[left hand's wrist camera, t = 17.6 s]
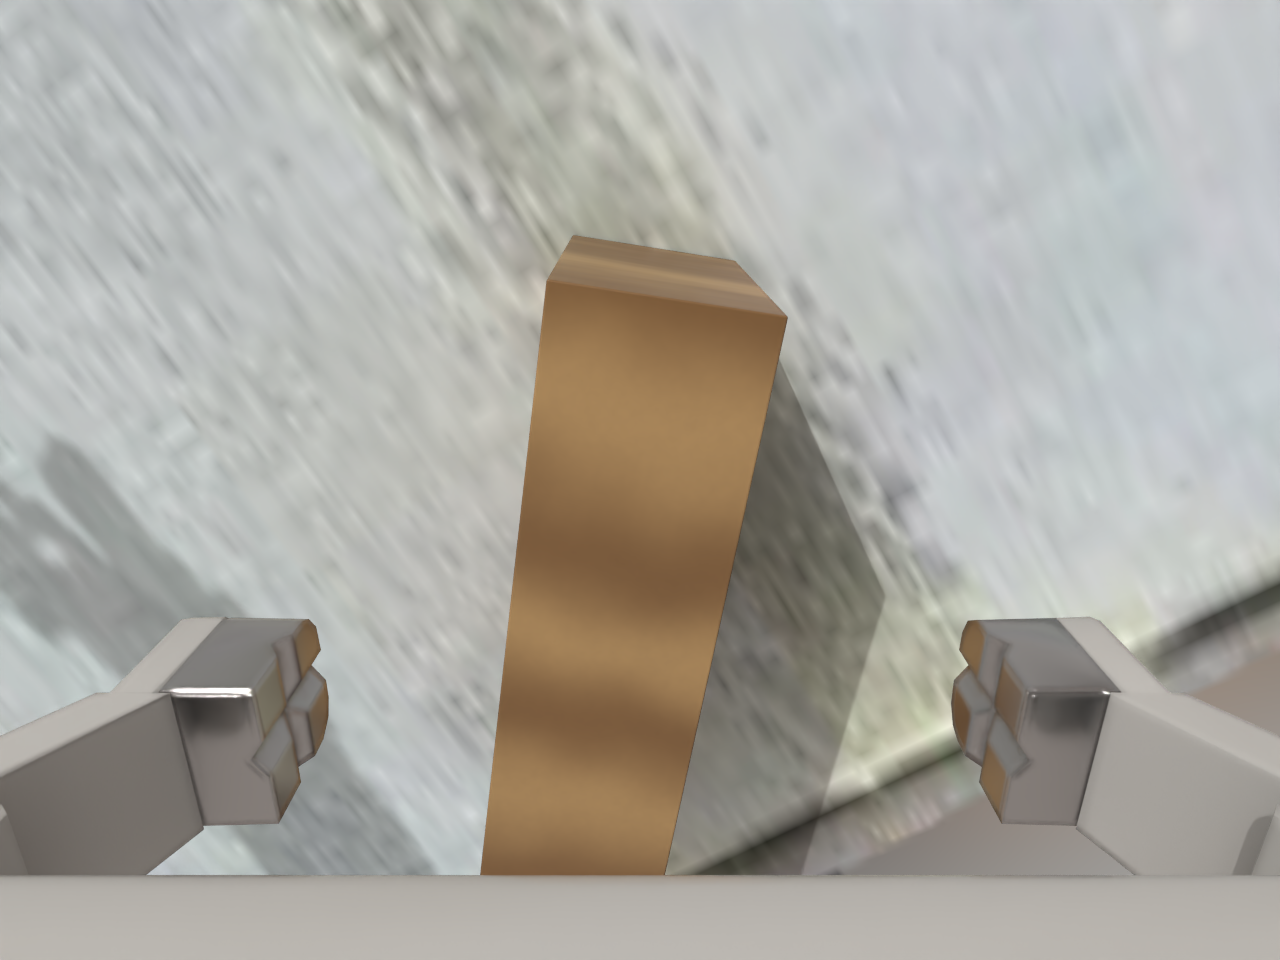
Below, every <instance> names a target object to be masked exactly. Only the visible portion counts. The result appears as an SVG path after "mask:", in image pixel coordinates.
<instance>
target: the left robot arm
mask: <svg viewBox="0 0 1280 960" xmlns="http://www.w3.org/2000/svg"><path fill="white" fill-rule="evenodd" d="M320 650H321V648H320V644H319V639H318V634H317V629H316V626H315V625H314V624H313V623H312V622H311V621H310V620H309V619H275V618H227V617H200V618H188V619H182V620H181V621H180V622H179V623H178V624H177V625H176V626H175V627H174V628H173V629H172V630H171V631H170V632H169V633H168V634H167V635H166V636H165V637H164V638H163V639H162V640H161V641H160V642H159V643H158V644H157V645H156V646H155V647H154V648H153V649H152V650H151V651H150V652H149V653H148V654H147V655H146V656H145V657H144V658H143V659H142V660H141V661H140V662H139V663H138V664H137V666H136V667H135V668H134V669H133V670H132V671H131V672H130V673H129V674H128V675H127V676H126V677H125V678H124V679H123V680H122V681H121V682H120V683H119V684H118V685H117V686H116V687H115V688H114V689H113V690H112V691H111V692H110V693H95V694H93V695H90V696H88V697H86V698H84V699H81V700H79V701H77V702H75V703H73V704H70V705H68V706H66V707H64V708H61V709H59V710H57V711H55V712H52V713H50V714H48V715H46V716H44V717H41V718H39V719H37V720H35V721H32V722H30V723H28V724H26V725H23V726H21V727H19V728H17V729H15V730H12V731H10V732H8V733H6V734H3V735H1V736H0V960H1280V736H1278V735H1276V734H1274V733H1272V732H1270V731H1267V730H1265V729H1263V728H1261V727H1259V726H1256V725H1254V724H1252V723H1250V722H1247V721H1245V720H1243V719H1241V718H1239V717H1236V716H1234V715H1232V714H1229V713H1227V712H1225V711H1223V710H1221V709H1219V708H1216V707H1214V706H1212V705H1210V704H1207V703H1205V702H1203V701H1201V700H1198V699H1196V698H1194V697H1192V696H1190V695H1187V694H1185V693H1170V692H1169V691H1168V690H1167V689H1166V688H1165V687H1164V686H1163V685H1162V684H1161V683H1160V682H1159V681H1158V680H1157V679H1156V678H1155V677H1154V676H1153V675H1152V674H1151V673H1150V672H1149V670H1148V669H1147V668H1146V667H1145V666H1144V665H1143V664H1142V663H1141V662H1140V661H1139V660H1138V659H1137V658H1136V657H1135V656H1134V655H1133V654H1132V653H1131V652H1130V651H1129V650H1128V649H1127V648H1126V647H1125V646H1124V645H1123V644H1122V643H1121V642H1120V641H1119V640H1118V639H1117V638H1116V637H1115V636H1114V635H1113V634H1112V633H1111V632H1110V631H1109V629H1108V628H1107V627H1106V626H1105V625H1104V624H1103V623H1102V622H1101V621H1099V620H1097V619H1094V618H1091V617H1070V618H1041V619H1000V620H971V621H968V622H967V624H966V626H965V628H964V630H963V632H962V637H961V643H960V648H959V650H960V652H961V653H962V655H963V657H964V658H965V660H966V662H967V663H968V666H967V667H966V668H965V669H964V671H963V672H962V673H961V674H960V675H959V676H958V677H957V678H956V679H955V680H954V685H953V692H952V700H951V708H952V720H953V727H954V730H955V734H956V737H957V740H958V743H959V745H960V747H961V749H962V751H963V753H964V755H965V756H966V757H968V758H969V759H971V760H972V761H974V762H975V763H977V764H978V765H980V766H981V767H982V769H981V774H980V780H979V783H980V785H981V787H982V788H983V790H984V792H985V794H986V796H987V798H988V799H989V801H990V803H991V805H992V807H993V809H994V810H995V812H996V814H997V816H998V818H999V820H1000V821H1001V823H1002V824H1033V825H1069V826H1077V827H1076V829H1077V830H1078V831H1079V832H1080V833H1082V834H1083V835H1084V836H1086V837H1087V838H1088V839H1089V840H1091V841H1092V842H1093V843H1094V844H1096V845H1097V846H1098V847H1100V848H1101V849H1102V850H1103V851H1105V852H1106V853H1107V854H1108V855H1110V856H1111V857H1112V858H1113V859H1115V860H1116V861H1117V862H1118V863H1120V864H1121V865H1122V866H1124V867H1125V868H1126V869H1127V870H1129V871H1130V872H1131V873H1132V874H1134V875H147V874H148V873H149V872H150V871H152V870H153V869H154V868H155V867H157V866H158V865H159V864H161V863H162V862H163V861H164V860H166V859H167V858H168V857H169V856H171V855H172V854H173V853H175V852H176V851H177V850H178V849H180V848H181V847H182V846H183V845H185V844H186V843H187V842H188V841H190V840H191V839H192V838H194V837H195V836H196V835H197V834H199V833H200V832H201V831H202V830H204V827H203V826H210V825H246V824H279V822H280V820H281V818H282V816H283V814H284V812H285V811H286V809H287V807H288V805H289V803H290V801H291V799H292V798H293V796H294V794H295V792H296V790H297V788H298V787H299V785H300V783H301V780H300V774H299V769H298V767H299V766H300V765H302V764H303V763H305V762H306V761H308V760H309V759H311V758H312V757H314V756H315V755H316V753H317V750H318V748H319V746H320V744H321V742H322V740H323V738H324V734H325V729H326V725H327V720H328V699H329V697H328V690H327V684H326V680H325V679H324V678H323V677H322V676H321V675H320V674H319V673H318V672H317V671H316V669H315V668H314V667H313V666H312V663H313V662H314V660H315V658H316V657H317V655H318V653H319V652H320Z"/></svg>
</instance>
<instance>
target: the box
mask: <svg viewBox="0 0 1280 960" xmlns="http://www.w3.org/2000/svg"><path fill="white" fill-rule="evenodd" d="M787 319H788V317H787V316H786V315H785V314H784V312H783V311H782V310H781V309H780V308H779V307H778V306H777V305H776V304H775V303H774V302H773V301H772V300H771V299H770V298H769V297H768V295H767V294H766V293H765V292H764V291H763V290H762V289H761V288H760V287H759V286H758V285H757V284H756V283H755V282H754V281H753V280H752V278H751V277H750V276H749V275H748V274H747V273H746V272H745V271H744V270H743V269H742V268H741V267H740V266H739V265H738V264H737V263H736V261H733V260H727V259H721V258H714V257H708V256H702V255H695V254H689V253H683V252H676V251H670V250H664V249H658V248H651V247H645V246H639V245H632V244H626V243H620V242H613V241H607V240H601V239H594V238H588V237H582V236H576V235H573V236H572V238H571V240H570V241H569V243H568V245H567V247H566V248H565V250H564V252H563V254H562V255H561V257H560V259H559V260H558V262H557V264H556V266H555V267H554V269H553V271H552V273H551V274H550V276H549V278H548V279H547V282H546V291H545V300H544V309H543V317H542V326H541V335H540V344H539V353H538V362H537V371H536V380H535V389H534V398H533V407H532V416H531V425H530V434H529V443H528V452H527V461H526V470H525V479H524V488H523V497H522V506H521V515H520V524H519V533H518V541H517V550H516V559H515V568H514V577H513V586H512V595H511V604H510V613H509V622H508V631H507V640H506V649H505V658H504V667H503V676H502V685H501V694H500V703H499V712H498V721H497V730H496V739H495V748H494V757H493V765H492V774H491V783H490V792H489V801H488V810H487V819H486V828H485V837H484V846H483V855H482V864H481V873H480V875H665V871H666V867H667V862H668V858H669V853H670V849H671V844H672V839H673V835H674V830H675V826H676V821H677V817H678V812H679V808H680V803H681V799H682V794H683V790H684V785H685V781H686V776H687V772H688V767H689V763H690V758H691V753H692V749H693V744H694V740H695V735H696V731H697V726H698V722H699V717H700V713H701V708H702V704H703V699H704V695H705V690H706V686H707V681H708V677H709V672H710V668H711V663H712V658H713V654H714V649H715V645H716V640H717V636H718V631H719V627H720V622H721V618H722V613H723V609H724V604H725V600H726V595H727V591H728V586H729V582H730V577H731V573H732V568H733V563H734V559H735V554H736V550H737V545H738V541H739V536H740V532H741V527H742V523H743V518H744V514H745V509H746V505H747V500H748V496H749V491H750V487H751V482H752V477H753V473H754V468H755V464H756V459H757V455H758V450H759V446H760V441H761V437H762V432H763V428H764V423H765V419H766V414H767V410H768V405H769V401H770V396H771V392H772V387H773V382H774V378H775V373H776V369H777V364H778V360H779V355H780V351H781V346H782V342H783V337H784V333H785V328H786V324H787Z"/></svg>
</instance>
